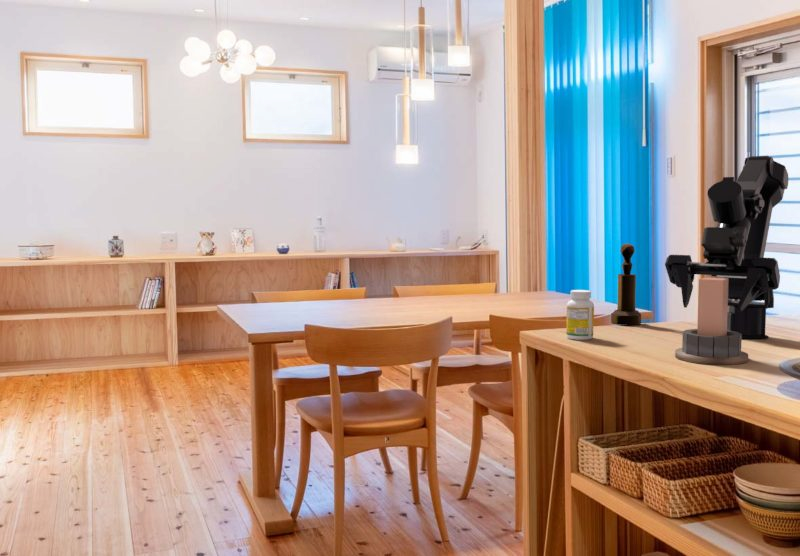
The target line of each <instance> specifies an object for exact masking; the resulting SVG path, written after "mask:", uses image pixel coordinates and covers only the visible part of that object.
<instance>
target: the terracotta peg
mask: <svg viewBox="0 0 800 556" xmlns="http://www.w3.org/2000/svg"><path fill="white" fill-rule="evenodd" d="M728 283H729V279H728V278H724V277H708V276H707V277H702V278H698V294H697V296H698V297H697V299H698V300H697V328H696V329H697V334H698V335H705V336H727V313H728V312H729V308H728V307H729V306H728Z"/></svg>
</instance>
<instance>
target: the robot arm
mask: <svg viewBox="0 0 800 556" xmlns="http://www.w3.org/2000/svg"><path fill="white" fill-rule="evenodd" d="M738 175H739V176H737V179H736V178H735V176H723V177H722V180H721V181H718V182H716V183H714V184H713V185H712V186H710V188H708V190H707V198H708V202H709V208H710V211H711V216H712V219H713V221H714V222H716V226H715V227H713V226H706V227H704V228H703V232H702V238H701V246H702V247H703V249H704V250H703V253H702V257H703V259H705V260H706V262H702V261H701V262H699V261H697V262H695V261H692V257H691V255H690V254H669V255H668V256H667V257H666V260H665V263H664V266H665V269H666V272H667V277H668V280H669V282H670V283H672V284H673V285H675V286H676V287H677V288H680V289H681V298H682V304H683V305H682V306H683V308H686V309H687V307H688V305H690V304H689V303H690V299H691V296H692V293H693V289H694V285H693V283H694V280H695V275H699V276H700V275H704V276H705V275H706V276H710V277H715V278H728V279H729V283H728V307H729V308H728V313H727V330H729V331H735V332H738V333H741V334H742V339H769V337H770V336H769V335H767V334H766V321H767V319H766V318H767V309H773V308H775V307H774V306H775V295H774V290H775V291H776V290H777V289H778V288H779V286H780V281H781V274H780V270H779V269H780V268H779V264H778V260H777V259H776V258H775V257H764V256H765V252H766V245H767V240H768V235H769V229H770V224H771V220H772V219H771V218H772V213H773V208H775V207H776V206H777V205H778V204H779V203H780V202H782V200H783V199H784V198H783V197H784V194H785V190H787V189H788V187H789V173H788V170H787V168H786V166H785V165H784V164H781V163H780V162H777V161H775V160H774V158H773V156H769V155H750V156H749V157H745V160H744V165H743V166H742V170H741V171H740V174H738ZM758 301H759V302H758ZM761 301H762V302H761ZM763 301H764V302H763Z"/></svg>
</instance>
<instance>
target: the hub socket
mask: <svg viewBox="0 0 800 556" xmlns="http://www.w3.org/2000/svg"><path fill="white" fill-rule="evenodd" d="M742 339H743V338H742V334H741V333H738V332H735V331H729V330H727V336H705V335H698V334H697V328H690V329H689V328H688V329H684V330H683V331H682V346H681V347H679V348H676V349H675V350H674V351H675V353H674V355H675V357H674V358H676V359H678V360H680V361H684V362H687V363H692V364H693V363H694V364H701V365H712V366H713V365H714V366H734V365H742V364H747V363H748V362H749V354H748V353H747V352H745V351H743V350H742Z"/></svg>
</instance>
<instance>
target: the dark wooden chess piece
mask: <svg viewBox="0 0 800 556" xmlns="http://www.w3.org/2000/svg"><path fill="white" fill-rule="evenodd" d="M634 253H635V246H634V245H633V244H631V243H624V244H622V245H621V246H620V254H621V256H622V257H623V263H621V266H622V267H621V268H622V272H623V273H618V274H617V309H615V310H614V311H612V312H611V315H610V324H613V325H618V326H619V325H620V326H638V325H641V324H642V313H641V312H640V311H639V310H638V309H636V296H637V295H636V291H637V290H636V288H637V286H636V285H637V284H636V282H637V281H636V280H637V275H636V274H635V273H634V274H633V273H631V272H632V268H633V263H632V260H631V259H632V256H633V255H634ZM637 324H638V325H637Z"/></svg>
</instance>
